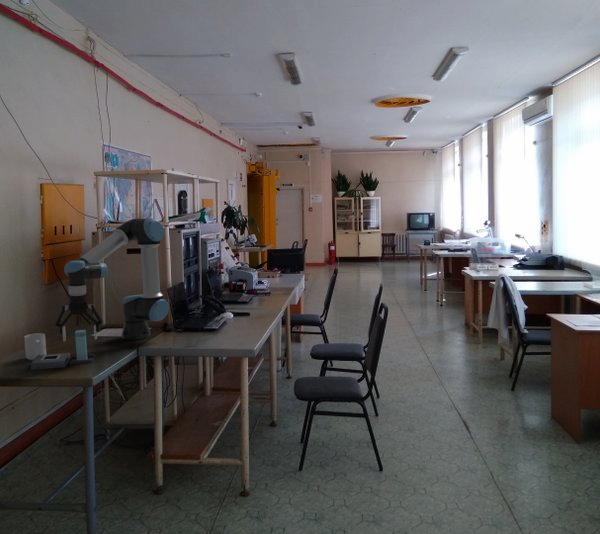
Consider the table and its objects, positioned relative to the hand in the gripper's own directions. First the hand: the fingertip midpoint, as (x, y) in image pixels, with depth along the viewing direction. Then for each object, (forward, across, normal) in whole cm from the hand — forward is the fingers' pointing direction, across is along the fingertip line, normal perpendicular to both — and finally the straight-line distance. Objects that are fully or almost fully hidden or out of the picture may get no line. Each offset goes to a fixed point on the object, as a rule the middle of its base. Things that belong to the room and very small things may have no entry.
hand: (80, 339), depth 254 cm
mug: (+11, +22, -12) cm, 27 cm away
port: (+11, +13, +2) cm, 17 cm away
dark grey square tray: (+10, 0, 0) cm, 11 cm away
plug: (+10, 0, 0) cm, 10 cm away
